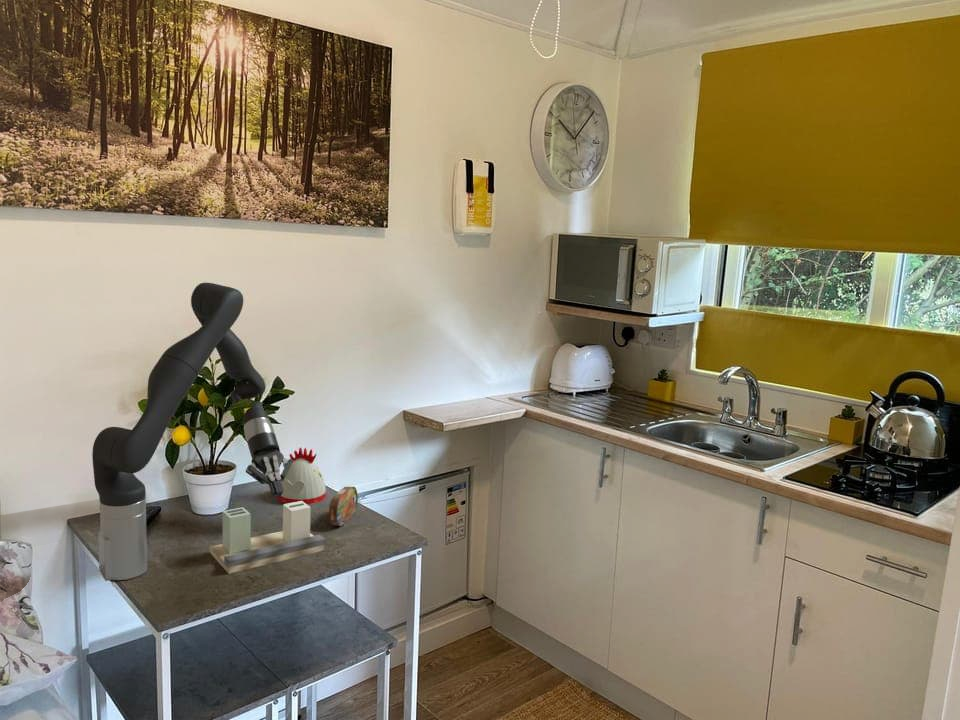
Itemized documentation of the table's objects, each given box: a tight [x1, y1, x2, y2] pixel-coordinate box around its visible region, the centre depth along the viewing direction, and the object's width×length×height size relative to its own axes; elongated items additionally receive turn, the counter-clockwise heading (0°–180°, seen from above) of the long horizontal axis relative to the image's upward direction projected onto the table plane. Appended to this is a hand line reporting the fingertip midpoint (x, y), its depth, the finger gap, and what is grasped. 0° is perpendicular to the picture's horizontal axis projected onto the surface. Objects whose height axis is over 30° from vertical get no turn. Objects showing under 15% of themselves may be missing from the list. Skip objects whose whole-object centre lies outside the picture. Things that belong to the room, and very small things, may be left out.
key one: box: [282, 501, 311, 542], centre depth 181 cm, size 5×5×9 cm
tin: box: [328, 486, 359, 527], centre depth 200 cm, size 15×3×8 cm, turn 168°
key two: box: [222, 506, 252, 554], centre depth 175 cm, size 5×5×9 cm
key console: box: [209, 530, 326, 575], centre depth 178 cm, size 24×13×3 cm, turn 128°
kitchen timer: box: [277, 446, 327, 505], centre depth 215 cm, size 14×14×15 cm
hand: (278, 495), depth 189 cm, fingers closed
